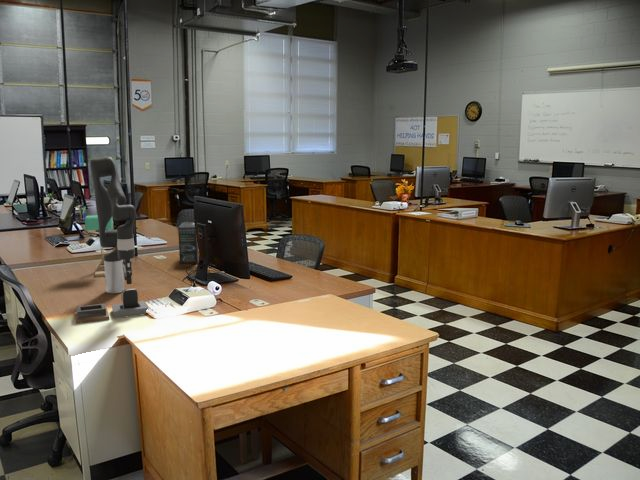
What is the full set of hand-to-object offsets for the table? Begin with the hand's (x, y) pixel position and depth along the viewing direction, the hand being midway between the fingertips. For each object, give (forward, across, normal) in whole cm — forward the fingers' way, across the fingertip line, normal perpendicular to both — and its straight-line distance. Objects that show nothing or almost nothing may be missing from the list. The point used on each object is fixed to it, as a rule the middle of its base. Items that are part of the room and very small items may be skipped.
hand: (128, 281), depth 264 cm
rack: (+15, 0, -17) cm, 22 cm away
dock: (+15, 0, 0) cm, 15 cm away
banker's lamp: (+14, -87, -6) cm, 89 cm away
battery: (+15, 0, 0) cm, 15 cm away
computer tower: (+14, -101, +50) cm, 114 cm away
